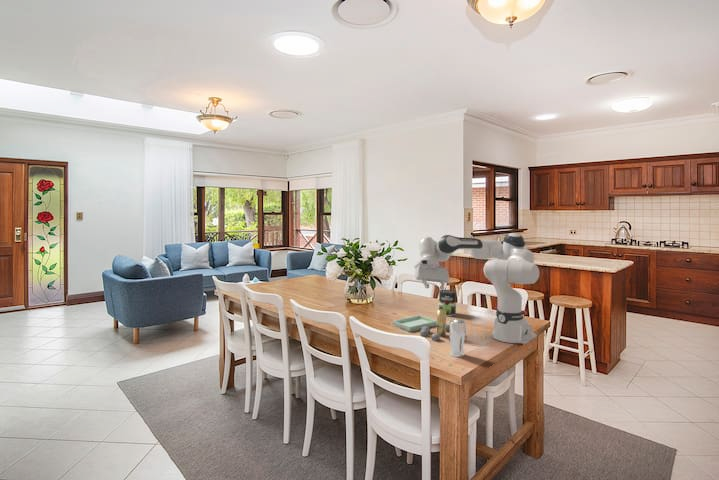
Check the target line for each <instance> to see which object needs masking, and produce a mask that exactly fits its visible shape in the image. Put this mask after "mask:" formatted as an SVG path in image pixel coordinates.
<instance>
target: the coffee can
mask: <svg viewBox="0 0 719 480" xmlns="http://www.w3.org/2000/svg"><path fill="white" fill-rule="evenodd" d="M438 296H439V297H438V309H444V310H446V317H454V316H453V315H455V316H456V315H457V313H456V311H457V310H456V309H457V308H456V307H457V291H456V290H453V289H443V290H441V289H439V290H438Z"/></svg>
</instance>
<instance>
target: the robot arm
mask: <svg viewBox="0 0 719 480" xmlns="http://www.w3.org/2000/svg"><path fill="white" fill-rule="evenodd" d="M502 242H503V243H501V241H499V240H496V239H479V238H475V237H474V238H473V237H459V236H453V235H450V234H445V235H443V236H441V238H440V239H439V241H436V240H434V239H433V238H432V237H431V236H427V237H424V238H423V239H421V240H420V241H419V245H418V249H419V256H421V259H420V260H419V261H418V262H417V263H415V264H414V278H415V279H416V281H421V282H422V284H423V285H424V288H425V289H429V288H430V284H429V283H428V282H433V283H434V282H435V283H440V286H439V290H445V285H446V284H447V283H449V282H450V280H451V278H450V275H449V271H448V269H447V268H446V267H445V266H442V265H440V264H439V262H440V263H441V262H443V263H444V262H446V261H448V260H449V259H450V257H451V256H452V255H453V254H454V253H455V252H456V251H458V250H469V252H470V253H469V254H470V255H471V257H472V258H474V259H475V260H476V259H477V260H487V259H488V260H487V261H486V262H485V264H483V265H484V266H483V274H484V276H485V278H486V279H487V280H488V281H489V282H491V283H492V285H493V288H494V289H495V292H496V296H497V297H496V298H497V308H496V312H495V313H496V315H495V316H496V317H495V319H494V323H493V330H492V331H491V335H492V337H493V338H494V339H495V340H496V341H499V342H503V343H508V344H509V343H510V344H525V345H526V344H528V343H529V342H531V341H533V340H535V339H536V338H538V336H537V334H536V333H534V332H532V324H531V323H530V322H528V321H527V320H526V319H525V318H524V316H527V314H528V313H527V311H526V310H523V308H522V307H523V306H522V304H523V298H522V295H521V294H520V292H519V291H517V290H516V289H514V288H513V287H512V285H511V284H519V285H531V284H535V283H536V282H538V279H539V277H540V270H539V267H538V265H537V264H536V263H534V262H535V254H534V253H533V251H531V250H530V249H528V248H525V246H526V242H525V239H524V237H523V236H522V234H518V233H516V232H511V233H507V234H505V235H504V237H503V241H502Z"/></svg>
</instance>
